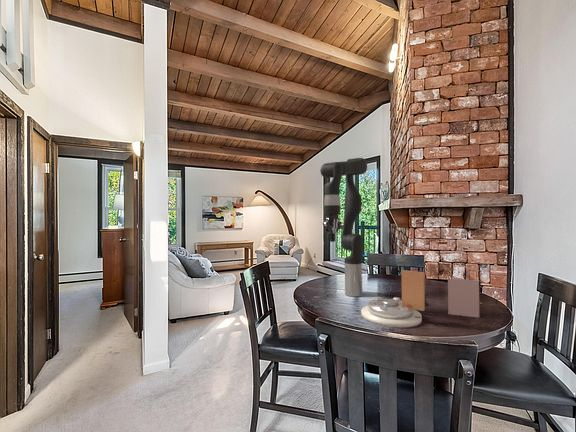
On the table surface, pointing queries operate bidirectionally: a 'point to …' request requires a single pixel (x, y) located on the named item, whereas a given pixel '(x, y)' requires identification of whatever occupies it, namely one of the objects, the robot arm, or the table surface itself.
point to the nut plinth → (387, 322)
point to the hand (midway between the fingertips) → (332, 241)
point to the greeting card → (463, 297)
